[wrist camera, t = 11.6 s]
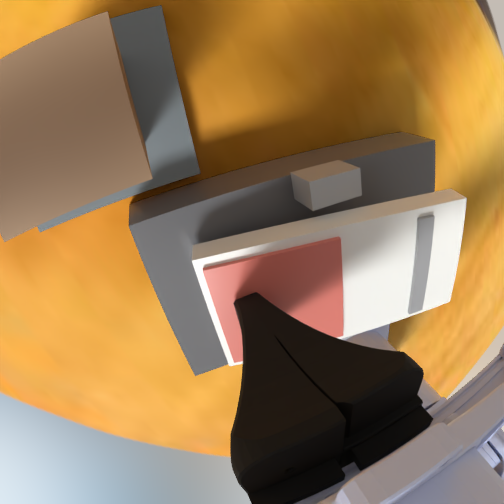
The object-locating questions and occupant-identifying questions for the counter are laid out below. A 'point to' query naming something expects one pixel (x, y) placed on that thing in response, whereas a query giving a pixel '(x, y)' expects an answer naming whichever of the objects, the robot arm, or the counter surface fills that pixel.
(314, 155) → the switch housing
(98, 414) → the counter surface
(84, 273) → the counter surface
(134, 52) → the mat
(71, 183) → the brown rectangular block
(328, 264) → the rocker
